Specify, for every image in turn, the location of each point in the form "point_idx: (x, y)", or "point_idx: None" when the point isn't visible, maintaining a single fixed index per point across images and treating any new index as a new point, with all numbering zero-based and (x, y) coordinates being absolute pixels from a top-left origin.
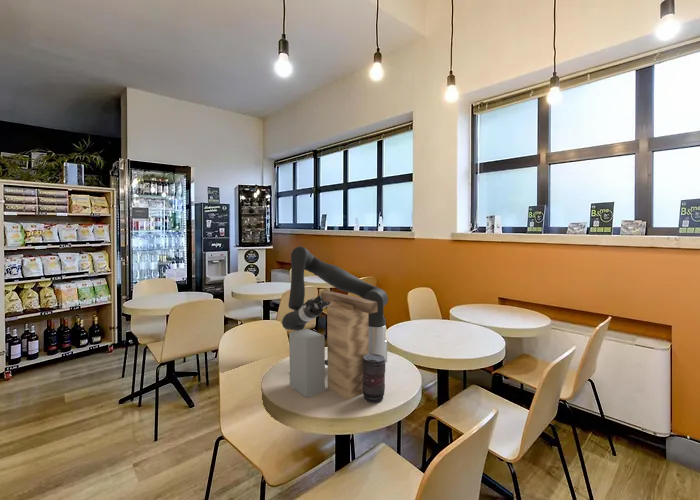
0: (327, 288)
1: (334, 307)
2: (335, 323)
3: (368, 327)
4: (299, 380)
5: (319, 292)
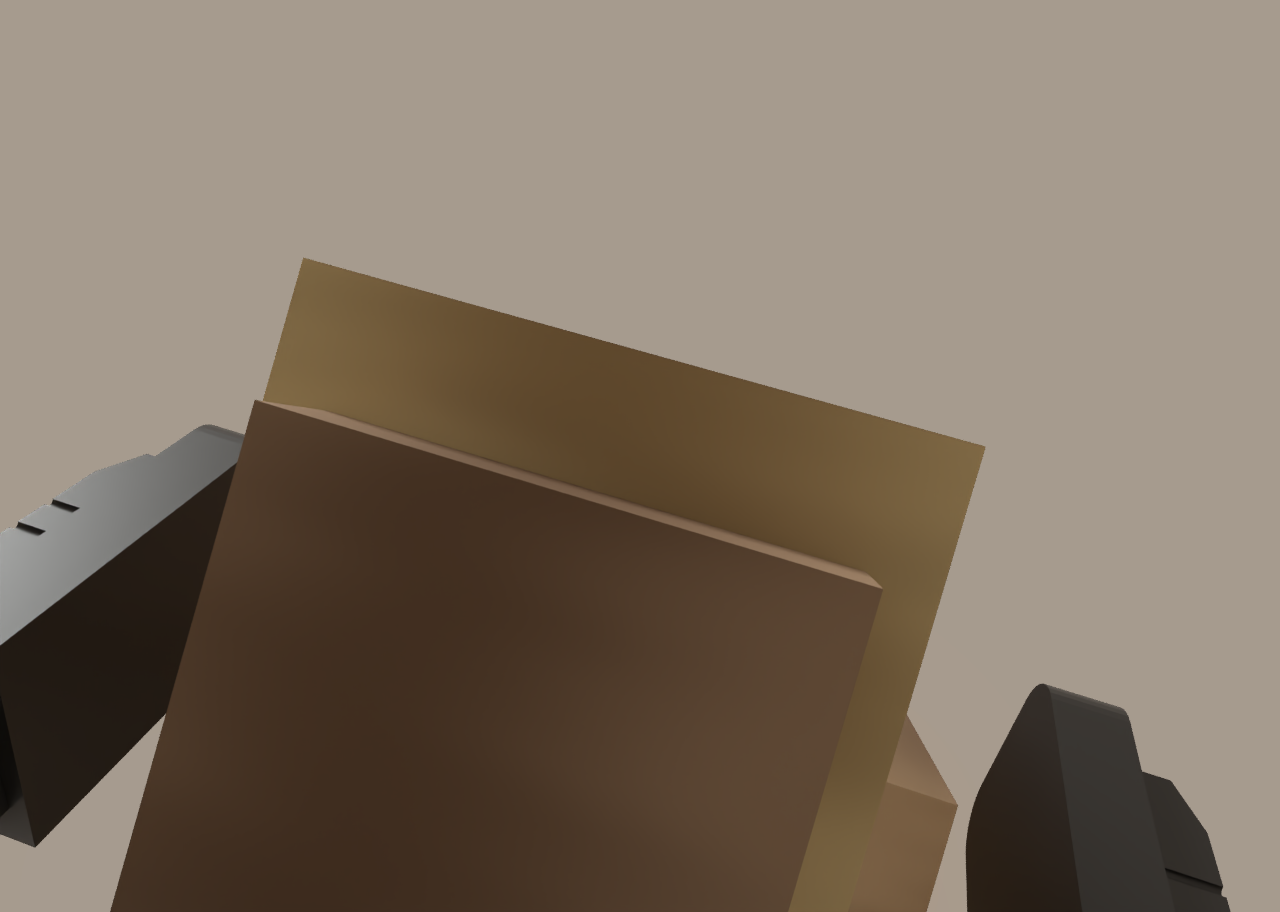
0: (414, 293)
1: (912, 732)
2: None
3: None
4: None
5: (920, 643)
